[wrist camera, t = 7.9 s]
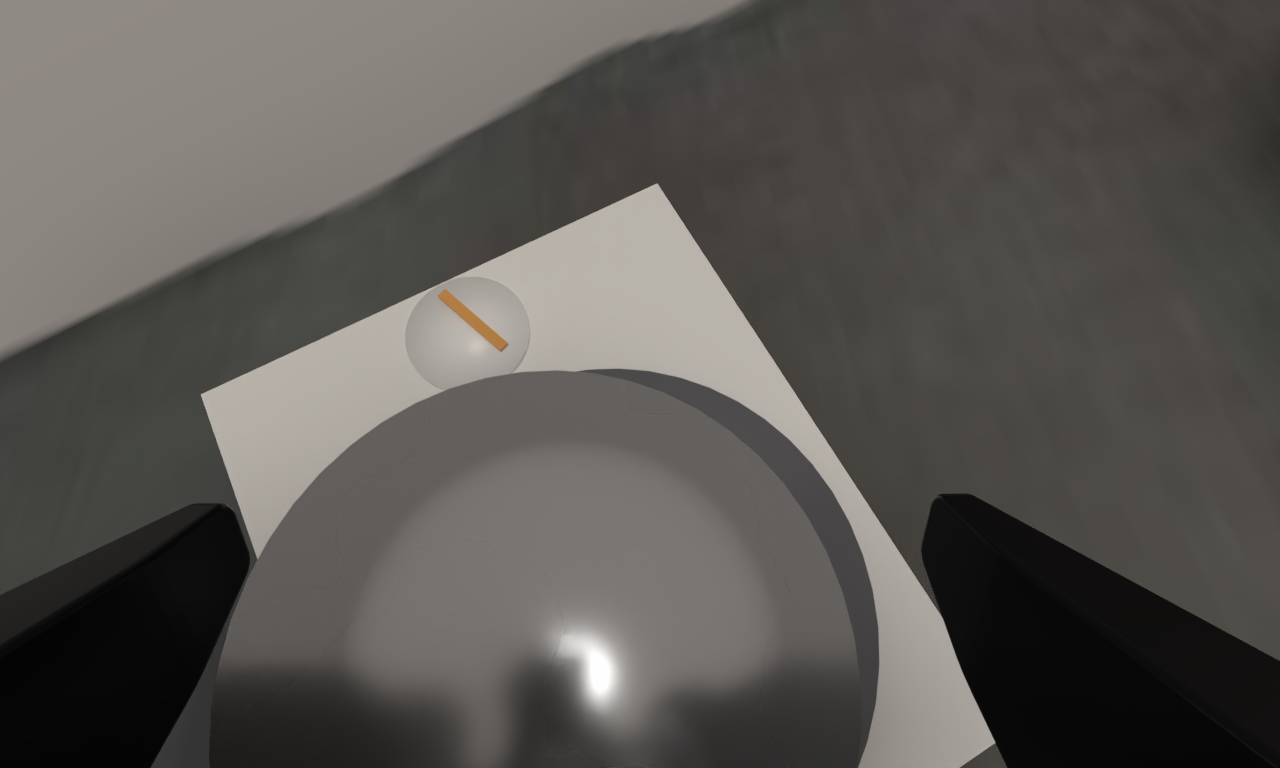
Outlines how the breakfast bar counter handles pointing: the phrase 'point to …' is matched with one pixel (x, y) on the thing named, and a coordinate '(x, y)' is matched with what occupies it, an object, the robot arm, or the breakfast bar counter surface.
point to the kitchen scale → (631, 350)
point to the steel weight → (541, 597)
